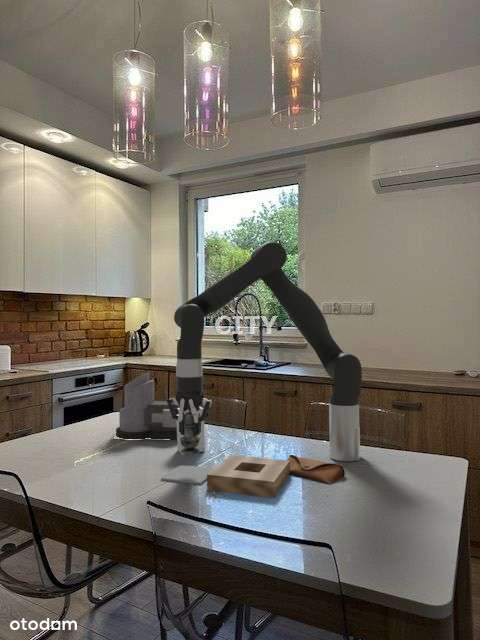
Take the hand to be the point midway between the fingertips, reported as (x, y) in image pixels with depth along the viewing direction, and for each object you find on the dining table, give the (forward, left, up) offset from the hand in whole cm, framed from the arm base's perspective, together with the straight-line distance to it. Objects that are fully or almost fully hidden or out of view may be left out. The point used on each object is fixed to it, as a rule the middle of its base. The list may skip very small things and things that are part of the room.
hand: (189, 434), depth 131 cm
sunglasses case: (-32, -11, -12) cm, 36 cm away
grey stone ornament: (0, 0, -5) cm, 5 cm away
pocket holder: (-18, 0, -12) cm, 21 cm away
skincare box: (+10, -22, -12) cm, 27 cm away
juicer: (+33, -37, -12) cm, 51 cm away
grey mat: (0, 0, -12) cm, 12 cm away
